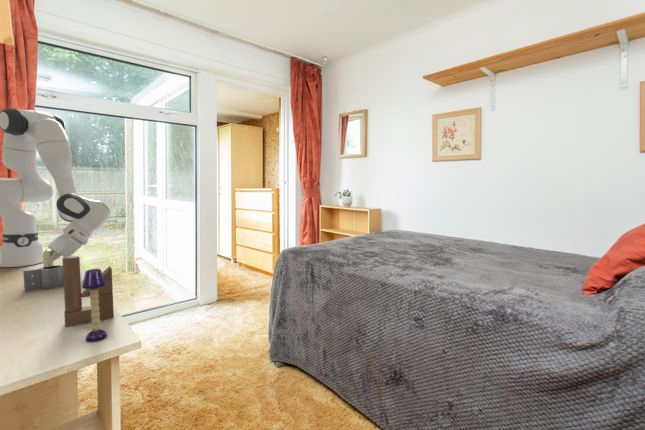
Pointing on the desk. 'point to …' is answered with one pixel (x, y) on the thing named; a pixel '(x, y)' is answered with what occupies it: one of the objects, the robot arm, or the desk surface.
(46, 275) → the octagonal sleeve with tab
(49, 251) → the brass pin
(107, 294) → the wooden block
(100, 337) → the toy lamp
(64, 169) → the robot arm
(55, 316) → the desk surface
